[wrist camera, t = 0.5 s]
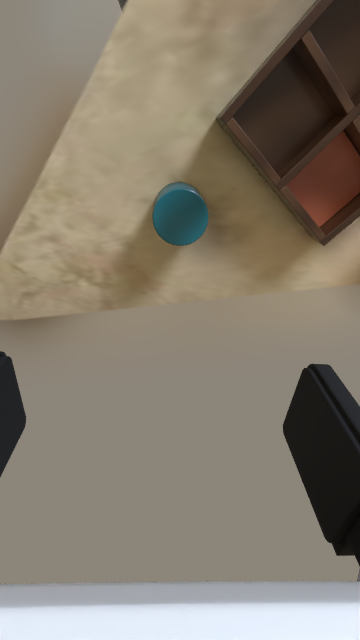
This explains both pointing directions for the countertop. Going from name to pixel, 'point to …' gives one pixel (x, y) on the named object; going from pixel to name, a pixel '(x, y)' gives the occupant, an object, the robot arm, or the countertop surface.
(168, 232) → the teal cylinder
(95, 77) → the countertop surface
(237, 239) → the countertop surface
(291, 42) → the grid
